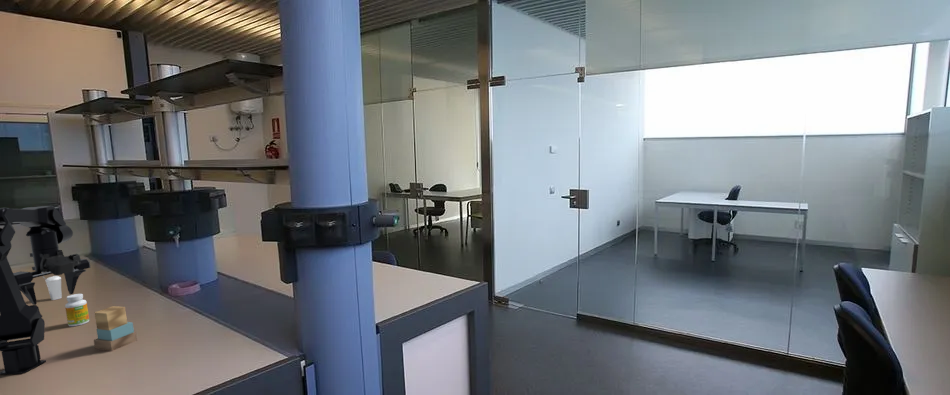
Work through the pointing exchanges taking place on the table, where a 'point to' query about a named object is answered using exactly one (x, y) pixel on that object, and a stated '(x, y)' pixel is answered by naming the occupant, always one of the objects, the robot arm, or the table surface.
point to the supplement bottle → (76, 310)
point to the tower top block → (115, 332)
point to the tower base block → (115, 342)
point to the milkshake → (54, 287)
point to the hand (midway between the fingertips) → (53, 299)
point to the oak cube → (110, 318)
